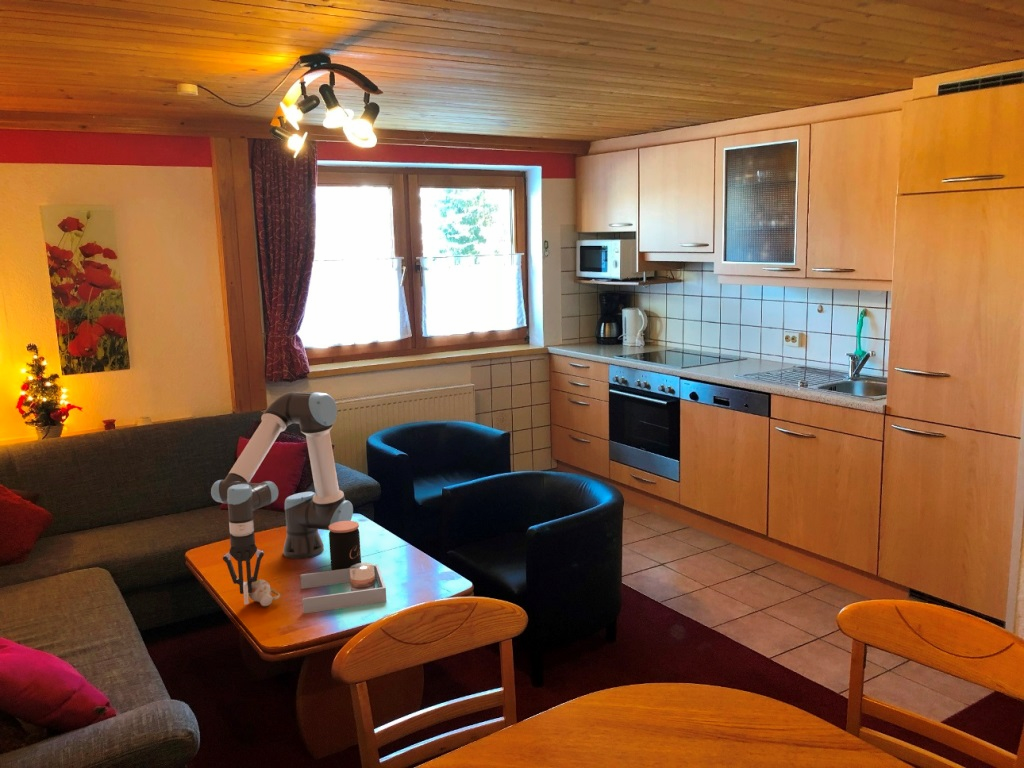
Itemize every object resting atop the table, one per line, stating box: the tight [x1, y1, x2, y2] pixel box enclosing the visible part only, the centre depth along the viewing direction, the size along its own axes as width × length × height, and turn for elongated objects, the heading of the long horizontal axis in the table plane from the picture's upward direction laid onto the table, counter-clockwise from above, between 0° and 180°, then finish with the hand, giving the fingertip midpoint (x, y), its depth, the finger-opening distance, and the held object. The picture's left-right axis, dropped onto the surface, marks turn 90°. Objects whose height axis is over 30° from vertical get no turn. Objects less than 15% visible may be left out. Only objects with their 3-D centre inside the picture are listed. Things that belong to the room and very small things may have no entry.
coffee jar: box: [328, 520, 362, 571], centre depth 291 cm, size 11×11×18 cm
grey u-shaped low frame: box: [299, 564, 387, 615], centre depth 273 cm, size 22×26×5 cm
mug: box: [249, 578, 281, 607], centre depth 268 cm, size 8×10×10 cm
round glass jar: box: [349, 562, 376, 592], centre depth 275 cm, size 8×8×9 cm
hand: (246, 602), depth 266 cm, fingers closed
